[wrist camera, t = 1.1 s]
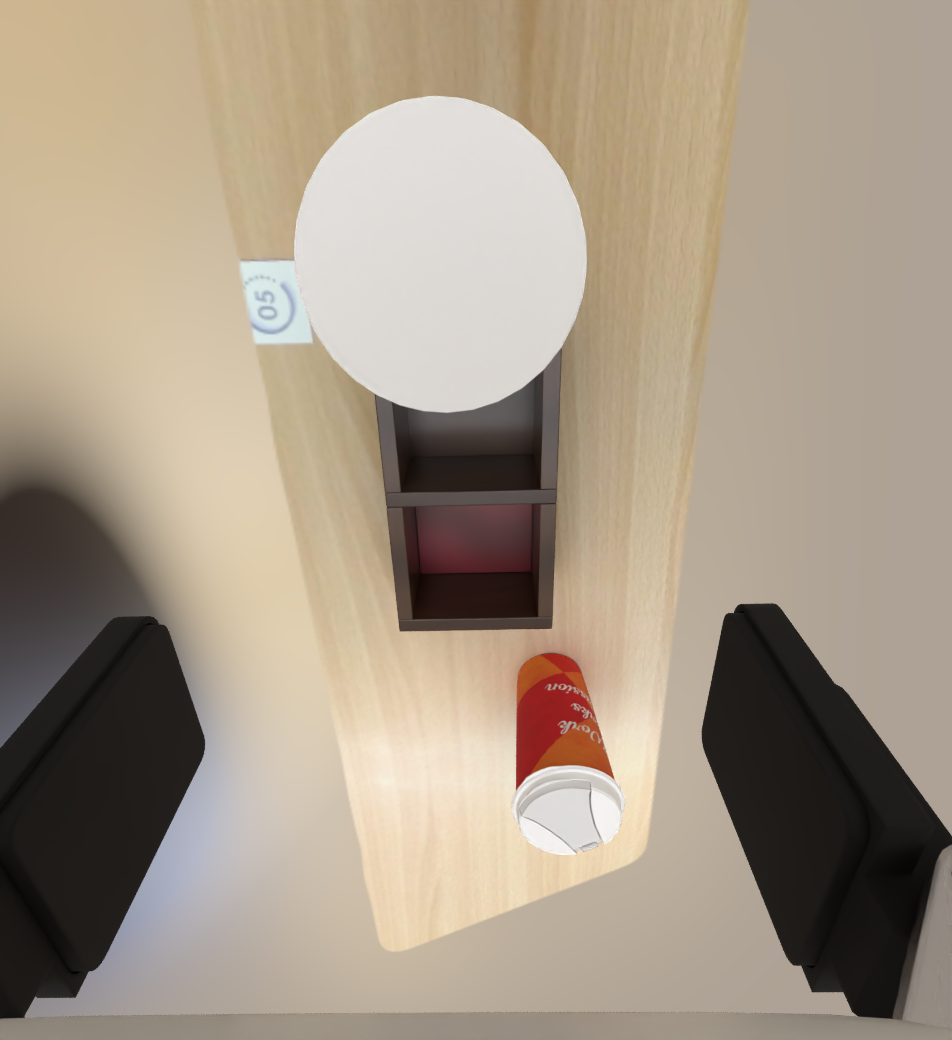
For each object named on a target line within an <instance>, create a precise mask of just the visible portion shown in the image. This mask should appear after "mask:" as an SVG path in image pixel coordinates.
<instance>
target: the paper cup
mask: <svg viewBox="0 0 952 1040" xmlns="http://www.w3.org/2000/svg"><path fill="white" fill-rule="evenodd" d="M624 807H625V798H624V794H623V791H622V789H621V787H620V786H619V784H618V783H617V782H616V781H615V779H614V776H613V773H612V770H611V766H610V763H609V760H608V756H607V753H606V750H605V746H604V743H603V740H602V736H601V733H600V730H599V726H598V723H597V720H596V717H595V713H594V710H593V707H592V703H591V700H590V697H589V694H588V691H587V687H586V684H585V681H584V678H583V676H582V673H581V671H580V668H579V667H578V665H577V664H576V663H575V662H574V661H573V660H572V659H570V658H568V657H566V656H564V655H560V654H553V653H549V654H542V655H538V656H536V657H534V658H532V659H530V660H529V661H527V662H526V663H525V664H524V665H523V666H522V668H521V670H520V672H519V675H518V682H517V733H516V792H515V794H514V796H513V799H512V814H513V816H514V819H515V821H516V822H517V824H518V825H519V827H520V830H521V832H522V834H523V835H524V837H525V838H526V839H527V840H528V841H529V842H530V843H531V844H532V845H534V846H535V847H537V848H539V849H541V850H543V851H546V852H549V853H553V854H560V855H575V854H577V851H579V850H582V851H583V852H584V851H587V850H590V849H592V848H595V847H598V844H599V843H602V842H603V841H604V843H605V844H606V843H608V842H609V841H610V840H611V839H612V838H613V837H614V836H615V835H616V833H617V832H618V830H619V828H620V825H621V821H622V814H623V811H624Z"/></svg>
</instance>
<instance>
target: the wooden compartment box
mask: <svg viewBox="0 0 952 1040" xmlns="http://www.w3.org/2000/svg"><path fill="white" fill-rule="evenodd" d="M561 352H562V347H561V348H560V350H559V351H558V352H557V354H556V355H555V356H554V357H553V359H552V360H551V361H550V362H549V364H548V365H547V366H546V368H545V369H544V370H543V371H542V372H540V373H539V374H538V375H537V376H536V377H535V378H534V379H532V380H531V381H530V382H529V383H528V384H527V385H525V386H524V387H523V388H522V389H520V390H518V391H516V392H514V393H513V394H511V395H509V396H507V397H505V398H504V399H502V400H500V401H498V402H495V403H492V404H489V405H486V406H483V407H480V408H477V409H474V410H466V411H458V412H449V413H444V412H429V411H421V410H417V409H413V408H409V407H405V406H401V405H398V404H396V403H394V402H391V401H389V400H387V399H385V398H382V397H380V396H378V395H376V394H375V402H376V411H377V421H378V430H379V440H380V449H381V459H382V468H383V478H384V487H385V496H386V506H387V516H388V526H389V535H390V544H391V554H392V563H393V573H394V582H395V592H396V601H397V611H398V619H399V629H400V631H450V630H504V629H551V628H552V616H553V588H554V558H555V529H556V498H557V470H558V441H559V411H560V381H561Z"/></svg>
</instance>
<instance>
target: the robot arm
mask: <svg viewBox="0 0 952 1040" xmlns="http://www.w3.org/2000/svg"><path fill="white" fill-rule="evenodd" d="M702 743H703V748H704V751H705V754H706V757H707V759H708V762H709V764H710V767H711V769H712V772H713V774H714V777H715V779H716V782H717V784H718V787H719V789H720V792H721V794H722V797H723V799H724V802H725V804H726V807H727V809H728V812H729V814H730V817H731V820H732V822H733V825H734V827H735V830H736V832H737V834H738V837H739V840H740V842H741V845H742V847H743V849H744V852H745V855H746V857H747V860H748V862H749V865H750V867H751V870H752V872H753V875H754V877H755V880H756V882H757V885H758V887H759V890H760V892H761V895H762V897H763V900H764V903H765V905H766V907H767V910H768V912H769V915H770V917H771V920H772V923H773V925H774V928H775V930H776V933H777V935H778V938H779V940H780V943H781V945H782V948H783V950H784V952H785V955H786V957H787V958H788V960H789V961H790V963H792V964H793V965H796V966H800V965H801V966H802V968H803V971H804V973H805V976H806V978H807V981H808V983H809V986H810V988H811V990H812V992H844V995H845V997H846V999H847V1001H848V1003H849V1006H850V1008H851V1010H852V1012H853V1013H854V1014H856V1015H857V1016H858V1017H856V1016H842V1015H828V1014H826V1015H825V1014H775V1013H774V1014H773V1013H719V1012H716V1013H715V1012H492V1013H491V1012H485V1013H484V1012H477V1013H475V1012H474V1013H323V1014H321V1013H320V1014H317V1013H316V1014H216V1015H133V1016H72V1017H71V1016H70V1017H40V1018H39V1017H38V1018H25V1017H24V1016H25V1014H26V1012H27V1010H28V1008H29V1007H30V1005H31V1003H32V1001H33V999H34V998H35V996H36V997H37V998H68V997H69V998H72V997H73V998H75V997H76V996H77V994H78V992H79V990H80V987H81V986H82V984H83V982H84V980H85V978H86V976H87V974H88V972H89V971H93V970H95V969H96V968H98V966H99V965H100V964H101V963H102V961H103V959H104V958H105V956H106V954H107V952H108V950H109V948H110V946H111V944H112V942H113V940H114V938H115V936H116V934H117V932H118V930H119V928H120V926H121V924H122V922H123V920H124V917H125V915H126V913H127V911H128V909H129V907H130V905H131V903H132V901H133V899H134V897H135V895H136V893H137V891H138V889H139V887H140V885H141V883H142V881H143V879H144V877H145V875H146V873H147V871H148V869H149V867H150V864H151V863H152V860H153V858H154V856H155V854H156V852H157V850H158V848H159V846H160V844H161V842H162V840H163V838H164V836H165V834H166V832H167V830H168V828H169V826H170V824H171V822H172V820H173V818H174V815H175V813H176V812H177V809H178V807H179V805H180V803H181V801H182V799H183V797H184V795H185V793H186V791H187V789H188V787H189V785H190V783H191V781H192V779H193V777H194V775H195V773H196V771H197V769H198V766H199V765H200V762H201V760H202V758H203V755H204V750H205V739H204V735H203V732H202V729H201V726H200V723H199V720H198V717H197V714H196V711H195V708H194V705H193V702H192V699H191V696H190V693H189V690H188V687H187V684H186V681H185V678H184V675H183V672H182V669H181V666H180V664H179V660H178V657H177V654H176V651H175V648H174V645H173V642H172V639H171V636H170V634H169V631H168V629H167V627H166V626H164V625H159V623H158V621H157V620H156V619H155V618H154V617H150V616H145V617H144V616H141V617H140V616H139V617H117V618H113V619H112V620H111V621H110V622H109V623H108V624H107V625H106V626H105V628H104V629H103V630H102V631H101V632H100V633H99V634H98V636H97V637H96V638H95V639H94V640H93V641H92V643H91V644H90V645H89V646H88V647H87V649H86V650H85V651H84V652H83V653H82V654H81V655H80V656H79V658H78V659H77V660H76V661H75V662H74V663H73V665H72V666H71V667H70V668H69V669H68V670H67V672H66V673H65V674H64V675H63V676H62V677H61V679H60V680H59V681H58V682H57V683H56V684H55V686H54V687H53V688H52V689H51V690H50V691H49V692H48V694H47V695H46V696H45V697H44V698H43V699H42V701H41V702H40V703H39V704H38V705H37V706H36V708H35V709H34V710H33V711H32V712H31V713H30V715H29V716H28V717H27V718H26V719H25V720H24V722H23V723H22V724H21V725H20V726H19V727H18V728H17V730H16V731H15V732H14V733H13V734H12V735H11V737H10V738H9V739H8V740H7V741H6V742H5V744H4V745H3V746H2V747H1V748H0V1040H952V836H951V834H950V833H949V832H948V830H947V829H946V828H945V827H944V825H943V823H942V822H941V821H940V819H939V818H938V817H937V815H936V814H935V813H934V811H933V810H932V808H931V807H930V806H929V804H928V803H927V802H926V800H925V799H924V797H923V796H922V795H921V793H920V792H919V790H918V789H917V788H916V786H915V785H914V784H913V782H912V781H911V780H910V778H909V777H908V775H907V774H906V773H905V771H904V770H903V769H902V767H901V766H900V764H899V763H898V762H897V760H896V759H895V758H894V756H893V755H892V753H891V752H890V751H889V749H888V748H887V747H886V745H885V744H884V742H883V741H882V740H881V738H880V737H879V736H878V734H877V733H876V731H875V730H874V729H873V727H872V726H871V725H870V723H869V722H868V721H867V719H866V718H865V716H864V715H863V714H862V712H861V711H860V710H859V708H858V707H857V706H856V704H855V703H854V701H853V700H852V699H851V697H850V696H849V695H848V693H847V692H846V691H845V690H844V689H843V688H842V687H840V686H838V685H836V684H834V682H833V681H832V679H831V678H830V677H829V675H828V674H827V673H826V671H825V670H824V668H823V667H822V665H821V664H820V663H819V661H818V660H817V658H816V657H815V656H814V654H813V653H812V651H811V650H810V649H809V647H808V646H807V644H806V643H805V642H804V640H803V639H802V637H801V636H800V635H799V633H798V632H797V630H796V629H795V628H794V626H793V625H792V623H791V622H790V621H789V619H788V618H787V617H786V615H785V614H784V612H783V611H782V610H781V608H780V607H779V606H778V605H776V604H773V603H772V604H740V605H738V606H737V607H736V609H735V611H734V613H728V614H726V615H725V618H724V621H723V625H722V630H721V635H720V640H719V645H718V651H717V656H716V660H715V666H714V671H713V676H712V681H711V686H710V691H709V696H708V701H707V706H706V711H705V716H704V721H703V726H702Z"/></svg>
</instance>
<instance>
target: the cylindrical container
mask: <svg viewBox="0 0 952 1040" xmlns="http://www.w3.org/2000/svg"><path fill="white" fill-rule="evenodd" d="M294 255H295V271H296V278H297V282H298V287H299V291H300V295H301V299H302V303H303V306H304V308H305V311H306V313H307V315H308V318H309V320H310V322H311V324H312V327H313V329H314V331H315V333H316V335H317V336H318V338H319V339H320V341H321V342H322V344H323V345H324V347H325V348H326V349H327V351H328V352H329V354H330V355H331V357H332V358H333V359H334V360H335V361H336V362H337V363H338V364H339V365H340V366H341V367H342V368H343V369H344V370H345V371H346V372H347V373H348V374H349V375H350V376H351V377H352V378H353V379H354V380H356V381H357V382H358V383H360V384H361V385H363V386H364V387H366V388H367V389H369V390H370V391H371V392H373V393H374V394H376V395H378V396H380V397H382V398H385V399H387V400H389V401H391V402H394V403H396V404H398V405H401V406H405V407H409V408H413V409H417V410H421V411H429V412H444V413H449V412H458V411H466V410H474V409H477V408H480V407H483V406H486V405H489V404H492V403H495V402H498V401H500V400H502V399H504V398H505V397H507V396H509V395H511V394H513V393H514V392H516V391H518V390H520V389H522V388H523V387H524V386H525V385H527V384H528V383H529V382H530V381H531V380H532V379H534V378H535V377H536V376H537V375H538V374H539V373H540V372H542V371H543V370H544V369H545V368H546V366H547V365H548V364H549V362H550V361H551V360H552V359H553V357H554V356H555V355H556V354H557V352H558V351H559V350H560V348H561V347H562V345H563V343H564V342H565V340H566V338H567V336H568V334H569V332H570V330H571V328H572V326H573V324H574V322H575V320H576V316H577V313H578V310H579V307H580V304H581V301H582V297H583V292H584V285H585V278H586V271H587V256H586V235H585V231H584V226H583V222H582V218H581V213H580V209H579V205H578V202H577V200H576V198H575V195H574V193H573V191H572V189H571V186H570V184H569V182H568V180H567V178H566V175H565V173H564V172H563V170H562V169H561V167H560V166H559V165H558V163H557V162H556V161H555V159H554V158H553V156H552V155H551V154H550V152H549V151H548V150H547V148H546V147H545V145H544V144H543V143H541V142H540V141H539V140H538V139H537V138H536V137H535V136H534V135H532V134H531V133H530V132H529V131H528V130H527V129H526V128H525V127H523V126H522V125H521V124H520V123H519V122H517V121H515V120H514V119H512V118H510V117H508V116H507V115H505V114H503V113H501V112H499V111H498V110H496V109H494V108H492V107H490V106H487V105H484V104H480V103H477V102H474V101H470V100H467V99H464V98H456V97H443V96H427V97H420V98H413V99H407V100H401V101H398V102H396V103H393V104H391V105H389V106H386V107H384V108H381V109H379V110H376V111H374V112H371V113H370V114H368V115H367V116H366V117H364V118H363V119H361V120H360V121H359V122H357V123H356V124H355V125H353V126H352V127H350V128H349V129H348V130H346V131H345V132H344V133H343V134H342V135H341V136H340V137H339V138H338V140H337V141H336V142H335V143H334V144H333V145H332V147H331V148H330V149H329V150H328V151H327V152H326V153H325V155H324V156H323V157H322V158H321V160H320V162H319V164H318V166H317V168H316V169H315V171H314V173H313V175H312V177H311V179H310V181H309V183H308V184H307V186H306V189H305V192H304V196H303V199H302V202H301V206H300V209H299V212H298V216H297V223H296V232H295V241H294Z"/></svg>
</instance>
